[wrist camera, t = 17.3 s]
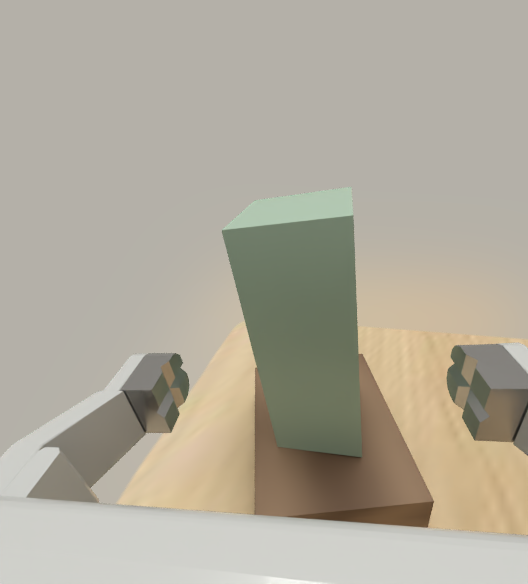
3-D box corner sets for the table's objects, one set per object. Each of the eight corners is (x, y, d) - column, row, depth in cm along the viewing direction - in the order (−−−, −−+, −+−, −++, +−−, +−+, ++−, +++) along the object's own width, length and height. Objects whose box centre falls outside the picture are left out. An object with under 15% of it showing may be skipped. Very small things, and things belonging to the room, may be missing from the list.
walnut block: (361, 388, 26) (362, 353, 24) (424, 538, 16) (433, 501, 14) (262, 400, 26) (255, 367, 24) (266, 553, 17) (254, 519, 15)
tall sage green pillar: (359, 389, 21) (351, 186, 14) (362, 457, 17) (353, 215, 10) (290, 385, 22) (254, 200, 16) (277, 446, 18) (221, 230, 11)
